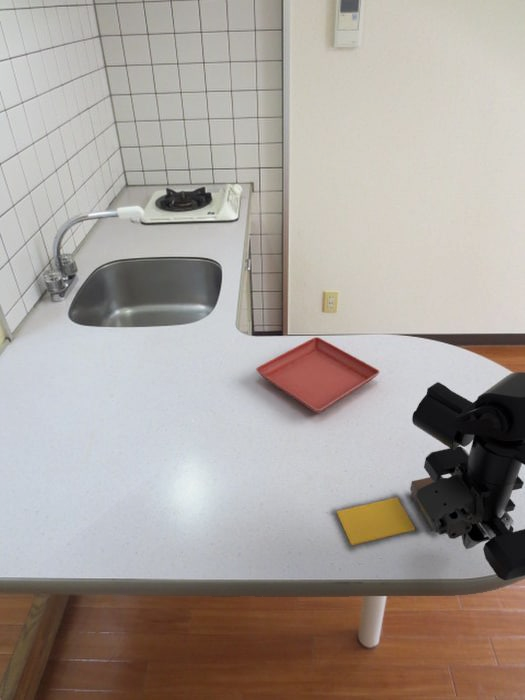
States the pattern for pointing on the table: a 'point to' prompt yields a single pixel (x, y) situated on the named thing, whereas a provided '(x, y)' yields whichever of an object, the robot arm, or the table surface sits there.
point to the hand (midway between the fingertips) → (467, 546)
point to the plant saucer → (317, 374)
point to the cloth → (375, 521)
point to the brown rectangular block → (414, 488)
